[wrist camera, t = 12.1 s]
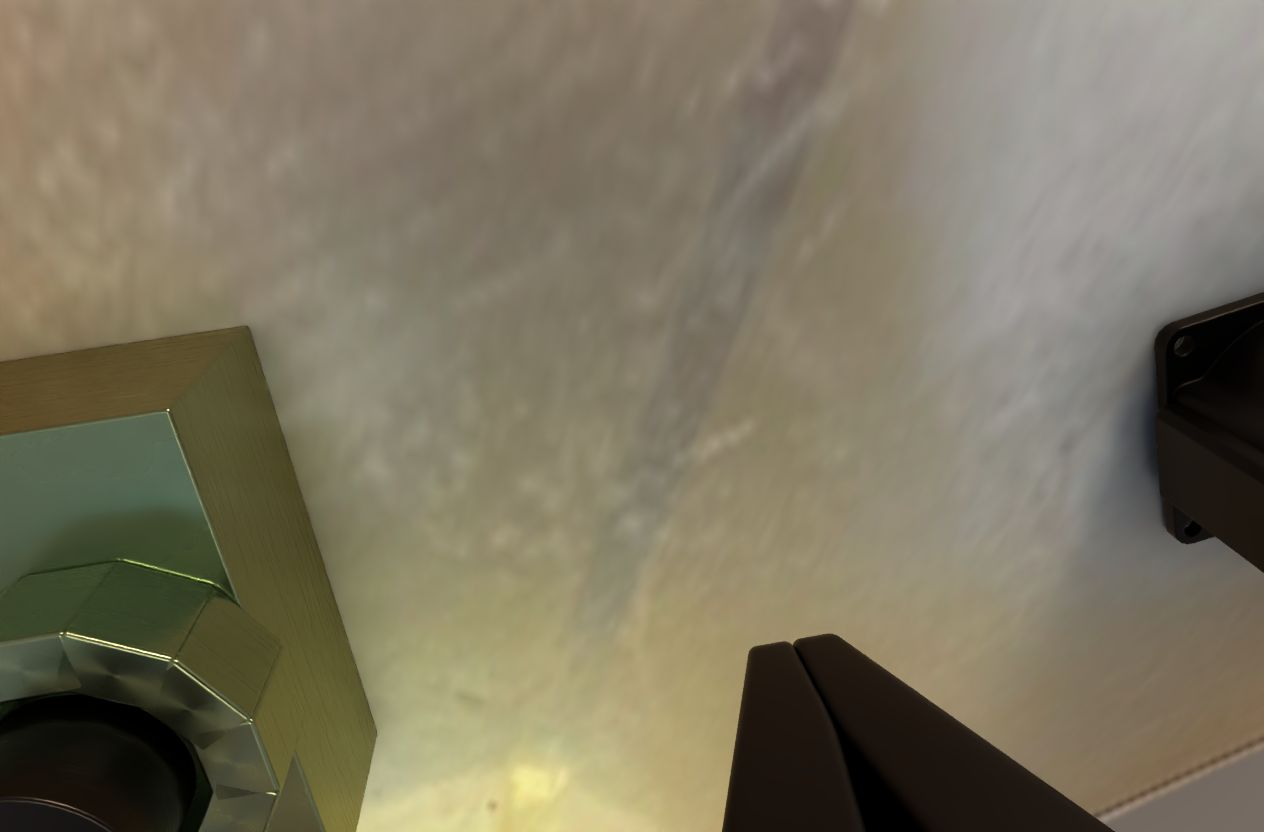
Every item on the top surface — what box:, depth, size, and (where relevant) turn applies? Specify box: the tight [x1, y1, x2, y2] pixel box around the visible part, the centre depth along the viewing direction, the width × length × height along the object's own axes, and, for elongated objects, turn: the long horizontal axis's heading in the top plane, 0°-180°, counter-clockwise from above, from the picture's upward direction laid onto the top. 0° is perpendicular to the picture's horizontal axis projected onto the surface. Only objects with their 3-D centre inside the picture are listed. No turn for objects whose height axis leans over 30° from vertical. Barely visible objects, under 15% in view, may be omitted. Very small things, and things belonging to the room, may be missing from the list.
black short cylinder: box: [0, 694, 197, 832], centre depth 15 cm, size 4×4×2 cm
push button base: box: [0, 326, 377, 832], centre depth 19 cm, size 12×12×7 cm
